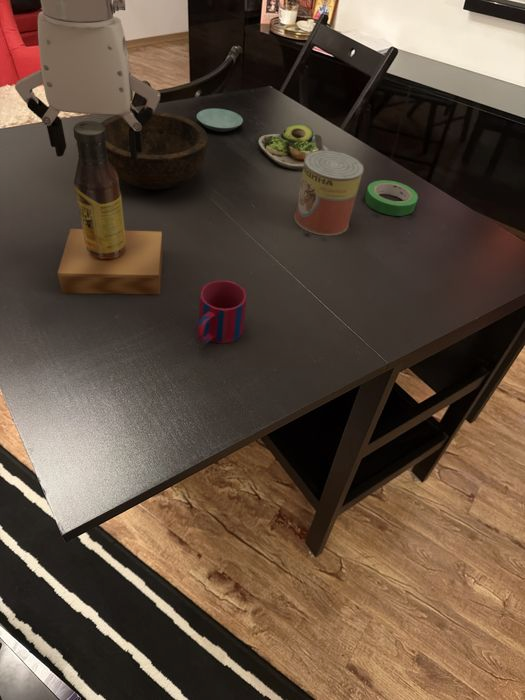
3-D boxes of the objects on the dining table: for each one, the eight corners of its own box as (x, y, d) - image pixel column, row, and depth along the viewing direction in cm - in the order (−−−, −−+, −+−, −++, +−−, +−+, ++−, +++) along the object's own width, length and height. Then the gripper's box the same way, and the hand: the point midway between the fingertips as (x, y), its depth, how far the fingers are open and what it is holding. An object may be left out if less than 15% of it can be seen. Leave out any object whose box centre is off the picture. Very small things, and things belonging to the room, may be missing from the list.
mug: (251, 325, 74) (255, 292, 70) (213, 364, 68) (215, 330, 63) (216, 307, 76) (218, 273, 72) (176, 343, 70) (175, 308, 65)
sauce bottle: (83, 242, 78) (59, 116, 63) (122, 236, 80) (107, 113, 66) (90, 266, 74) (66, 137, 60) (131, 259, 76) (117, 134, 62)
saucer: (250, 127, 126) (251, 118, 124) (225, 140, 119) (225, 131, 117) (214, 113, 130) (214, 104, 128) (187, 126, 122) (187, 116, 121)
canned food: (283, 211, 99) (292, 154, 90) (327, 201, 103) (340, 146, 95) (314, 240, 93) (327, 182, 84) (359, 229, 97) (376, 173, 89)
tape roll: (355, 193, 107) (358, 181, 106) (396, 188, 111) (399, 177, 109) (381, 219, 101) (385, 208, 99) (423, 213, 104) (428, 202, 102)
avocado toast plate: (350, 171, 114) (355, 152, 111) (283, 179, 108) (286, 159, 105) (312, 137, 126) (315, 118, 123) (250, 142, 120) (251, 123, 116)
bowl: (185, 152, 112) (185, 108, 105) (222, 199, 99) (224, 152, 92) (90, 163, 104) (83, 115, 97) (117, 215, 91) (111, 164, 84)
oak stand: (62, 293, 75) (57, 273, 72) (74, 248, 83) (70, 228, 80) (160, 294, 77) (158, 275, 74) (162, 250, 85) (161, 231, 82)
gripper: (157, 3, 57) (164, 145, 69) (2, -13, 54) (37, 138, 67) (155, 20, 52) (162, 170, 64) (-17, 3, 49) (25, 163, 62)
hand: (98, 154), depth 66 cm, fingers open, 9 cm apart
